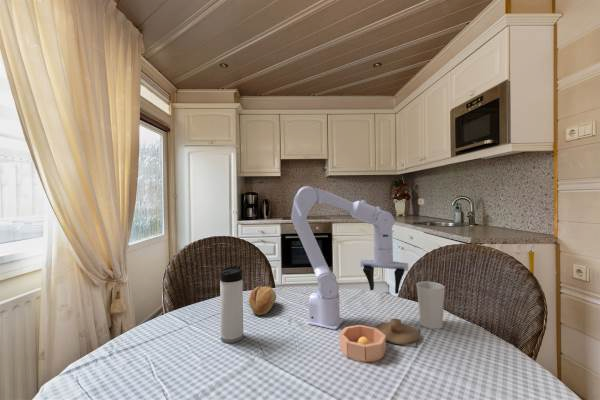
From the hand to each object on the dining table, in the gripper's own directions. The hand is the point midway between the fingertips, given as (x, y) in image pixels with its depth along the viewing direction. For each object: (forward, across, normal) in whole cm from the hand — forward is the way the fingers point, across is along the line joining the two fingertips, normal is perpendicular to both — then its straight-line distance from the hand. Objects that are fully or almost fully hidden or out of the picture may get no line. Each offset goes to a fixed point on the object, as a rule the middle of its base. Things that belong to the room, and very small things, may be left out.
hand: (384, 291), depth 86 cm
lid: (+10, +4, -7) cm, 13 cm away
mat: (+10, +4, -6) cm, 13 cm away
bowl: (+10, -2, -19) cm, 22 cm away
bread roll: (+10, -42, -8) cm, 44 cm away
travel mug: (+10, -37, -29) cm, 48 cm away
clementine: (+8, -2, -20) cm, 21 cm away
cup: (+10, +13, +5) cm, 17 cm away
